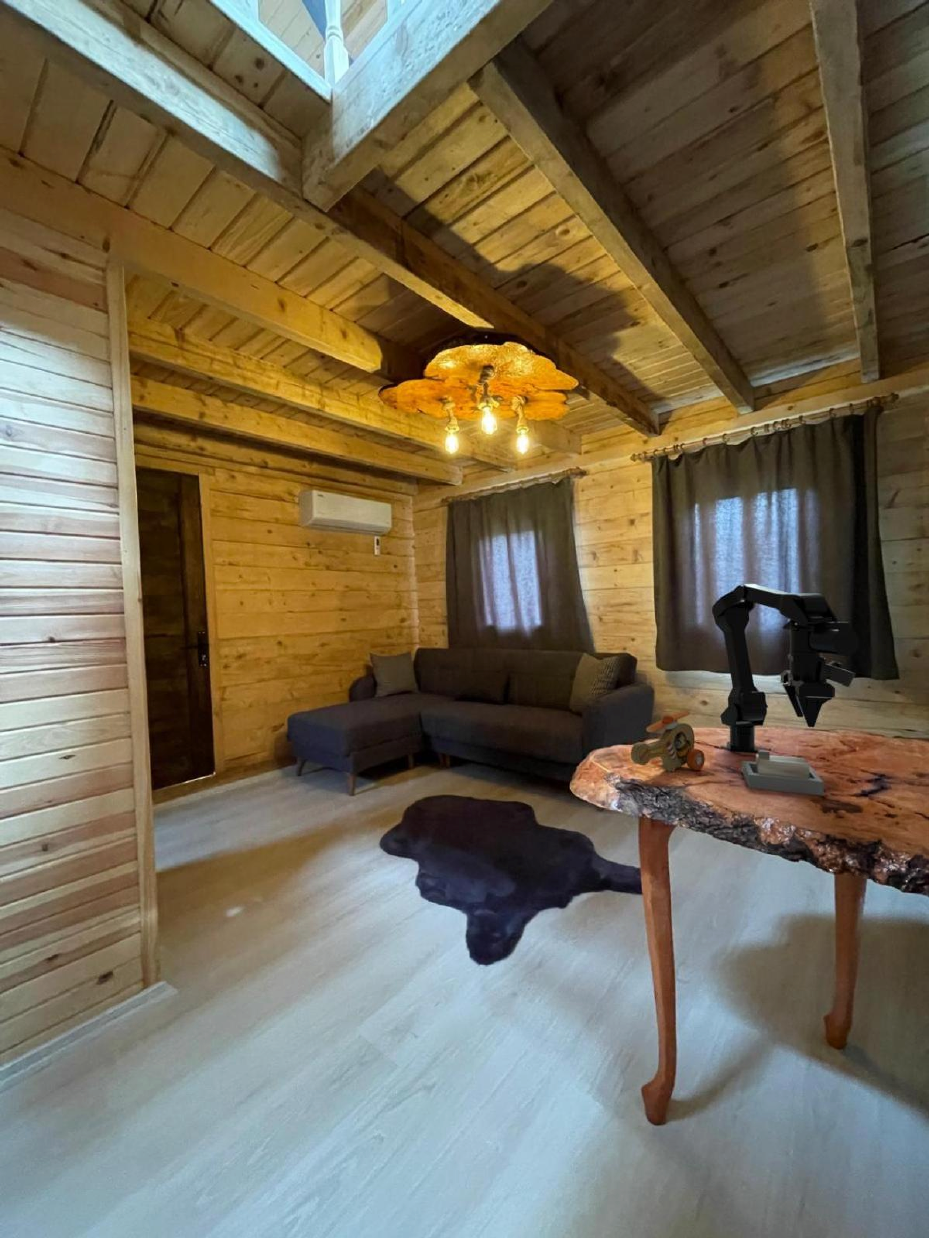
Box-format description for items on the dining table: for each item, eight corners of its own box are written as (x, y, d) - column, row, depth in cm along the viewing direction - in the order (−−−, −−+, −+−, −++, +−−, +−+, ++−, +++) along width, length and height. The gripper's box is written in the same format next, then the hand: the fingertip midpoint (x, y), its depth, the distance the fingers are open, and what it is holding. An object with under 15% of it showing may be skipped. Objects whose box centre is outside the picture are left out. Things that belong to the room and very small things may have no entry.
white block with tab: (755, 774, 110) (755, 747, 110) (804, 778, 107) (804, 751, 107) (759, 780, 106) (759, 753, 106) (809, 785, 103) (809, 757, 103)
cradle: (742, 772, 114) (742, 760, 113) (810, 779, 109) (810, 766, 109) (749, 787, 105) (749, 774, 105) (823, 795, 100) (823, 781, 100)
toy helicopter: (708, 768, 117) (708, 709, 117) (650, 787, 106) (649, 723, 106) (677, 758, 124) (676, 704, 124) (619, 776, 113) (619, 716, 113)
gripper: (866, 657, 98) (866, 735, 99) (836, 647, 116) (835, 714, 116) (799, 655, 102) (799, 731, 103) (780, 646, 120) (780, 711, 120)
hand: (805, 721), depth 110 cm, fingers open, 9 cm apart
